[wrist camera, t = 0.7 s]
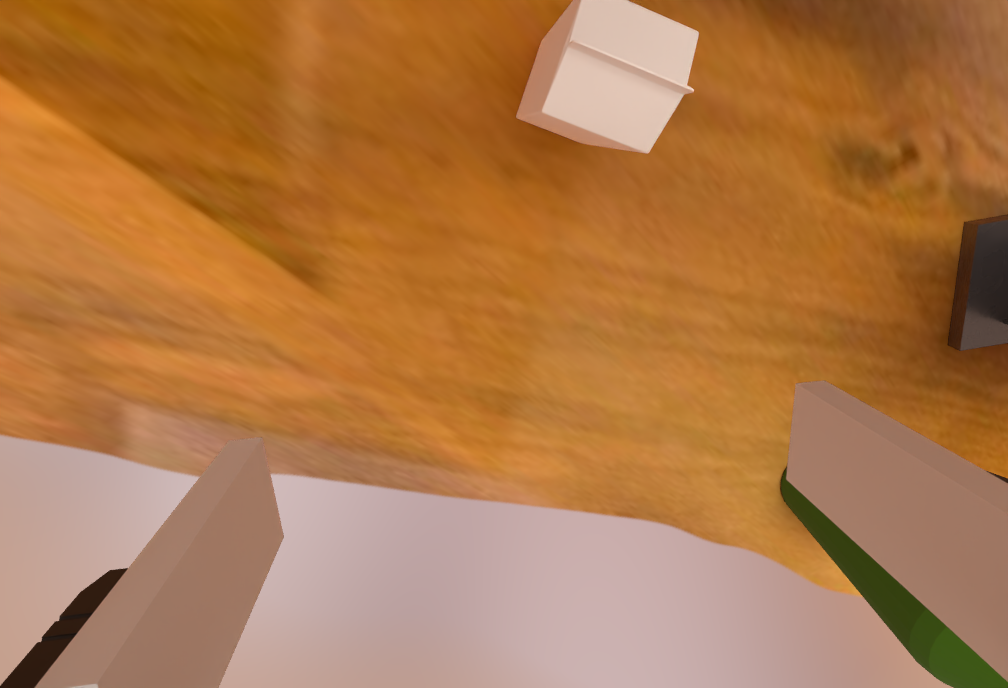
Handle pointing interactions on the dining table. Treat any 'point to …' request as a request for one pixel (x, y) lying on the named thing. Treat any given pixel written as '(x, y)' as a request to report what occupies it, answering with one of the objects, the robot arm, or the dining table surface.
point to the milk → (609, 75)
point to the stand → (981, 286)
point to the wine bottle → (896, 603)
